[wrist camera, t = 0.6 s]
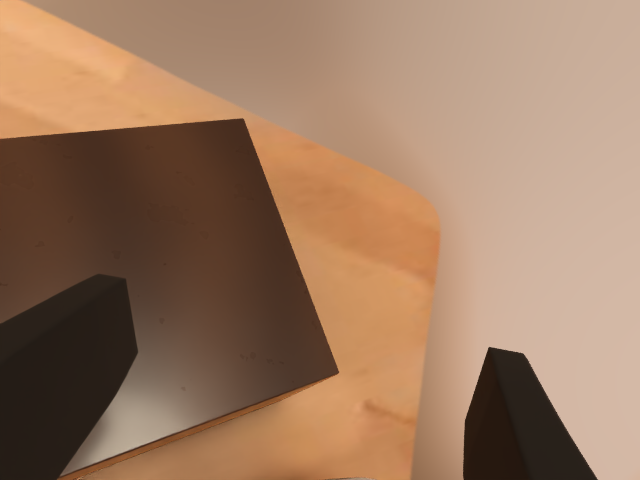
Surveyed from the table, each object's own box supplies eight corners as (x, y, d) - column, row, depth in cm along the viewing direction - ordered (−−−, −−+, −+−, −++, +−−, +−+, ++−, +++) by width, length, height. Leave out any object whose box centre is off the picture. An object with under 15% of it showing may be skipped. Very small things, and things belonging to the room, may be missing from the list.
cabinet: (-47, 525, 21) (-105, 540, 14) (-91, 240, 24) (-153, 151, 18) (281, 400, 28) (340, 372, 21) (211, 193, 31) (243, 117, 25)
